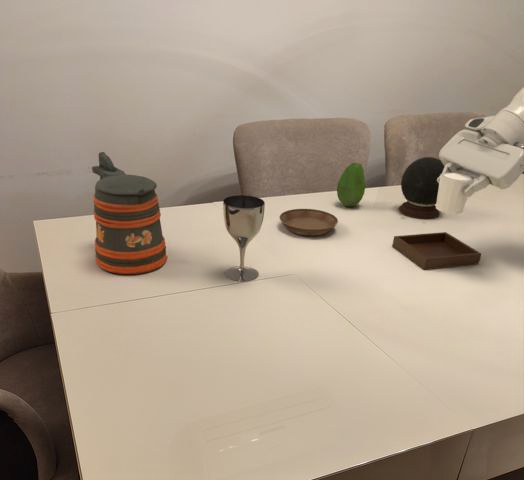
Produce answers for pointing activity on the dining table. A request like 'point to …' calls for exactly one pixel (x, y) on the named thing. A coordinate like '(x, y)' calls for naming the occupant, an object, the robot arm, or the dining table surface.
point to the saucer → (308, 221)
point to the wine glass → (243, 229)
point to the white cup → (452, 192)
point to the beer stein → (126, 221)
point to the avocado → (351, 185)
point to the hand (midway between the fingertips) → (451, 188)
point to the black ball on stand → (421, 188)
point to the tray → (436, 250)
